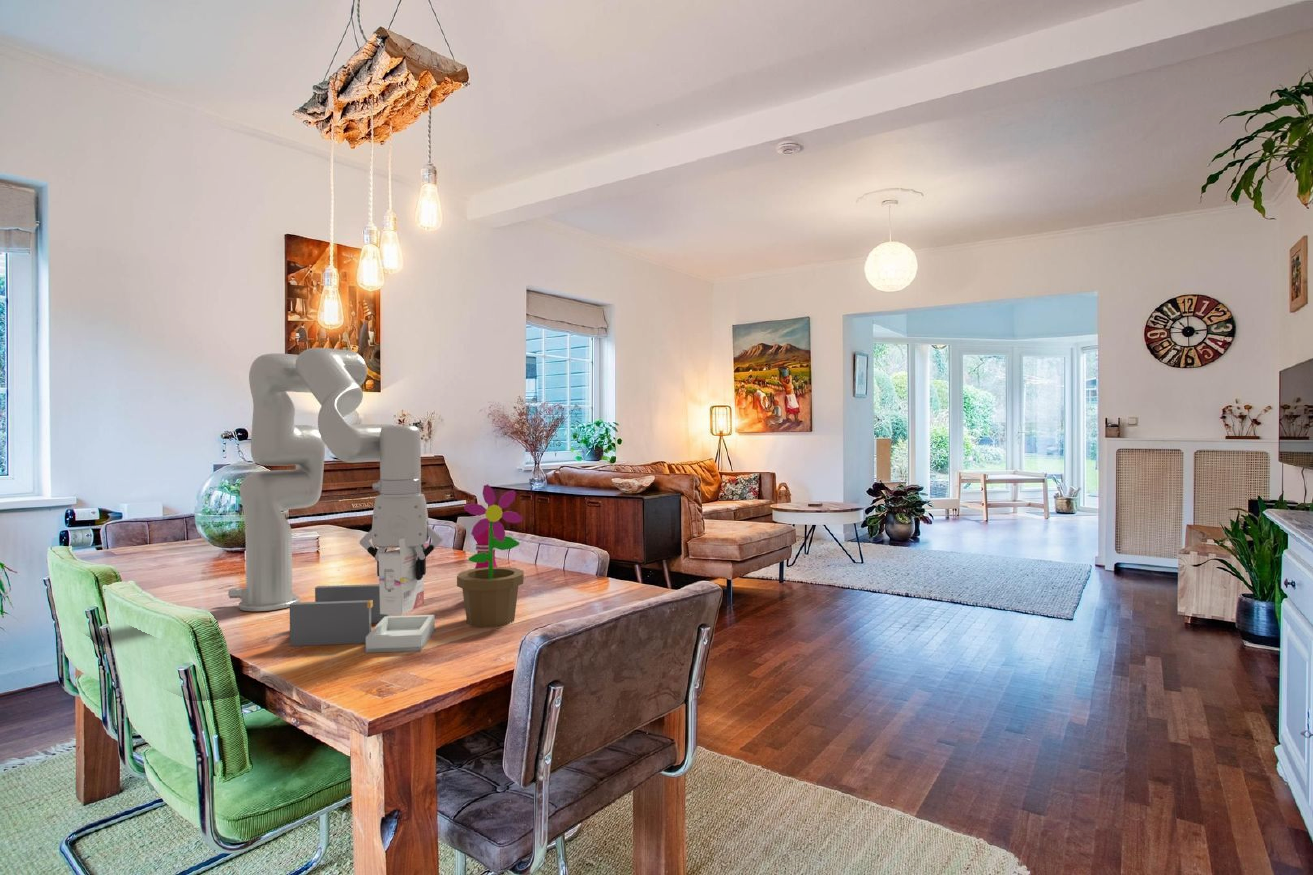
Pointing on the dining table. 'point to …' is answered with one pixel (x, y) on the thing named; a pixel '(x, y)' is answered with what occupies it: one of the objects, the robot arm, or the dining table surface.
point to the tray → (400, 634)
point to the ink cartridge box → (399, 581)
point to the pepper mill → (484, 547)
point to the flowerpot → (491, 567)
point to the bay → (336, 615)
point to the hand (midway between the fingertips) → (401, 578)
